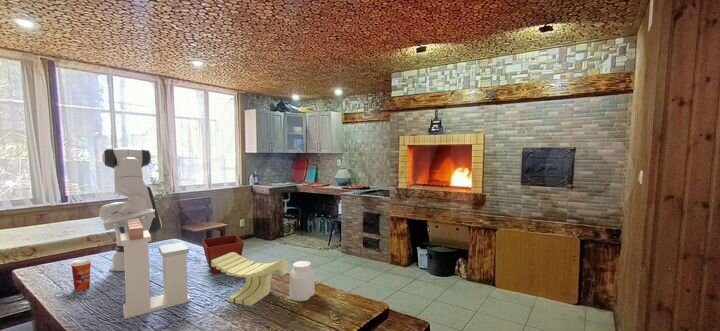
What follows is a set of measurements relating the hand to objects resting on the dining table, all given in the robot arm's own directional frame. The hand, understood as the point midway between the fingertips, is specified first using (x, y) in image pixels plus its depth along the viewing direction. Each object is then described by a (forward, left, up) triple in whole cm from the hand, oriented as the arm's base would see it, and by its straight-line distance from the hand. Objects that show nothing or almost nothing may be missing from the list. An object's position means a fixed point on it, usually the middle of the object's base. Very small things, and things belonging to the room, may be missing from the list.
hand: (129, 224), depth 148 cm
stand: (+18, +8, -34) cm, 39 cm away
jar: (+51, +62, -34) cm, 87 cm away
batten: (+14, +1, -2) cm, 14 cm away
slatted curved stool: (+36, +43, -34) cm, 66 cm away
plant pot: (-8, +43, -34) cm, 56 cm away
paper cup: (-26, -19, -34) cm, 47 cm away
